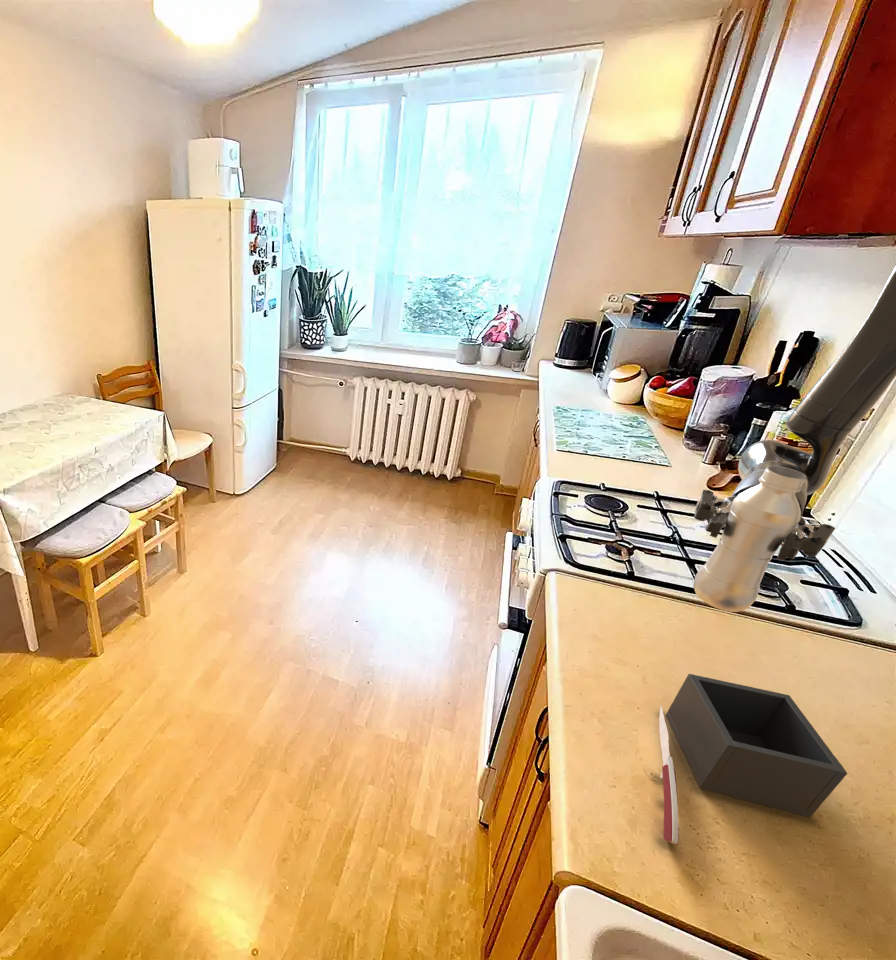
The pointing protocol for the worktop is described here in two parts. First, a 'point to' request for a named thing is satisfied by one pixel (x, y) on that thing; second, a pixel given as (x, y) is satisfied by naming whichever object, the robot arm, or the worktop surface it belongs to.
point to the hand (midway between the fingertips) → (749, 541)
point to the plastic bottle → (750, 540)
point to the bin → (752, 745)
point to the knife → (668, 786)
